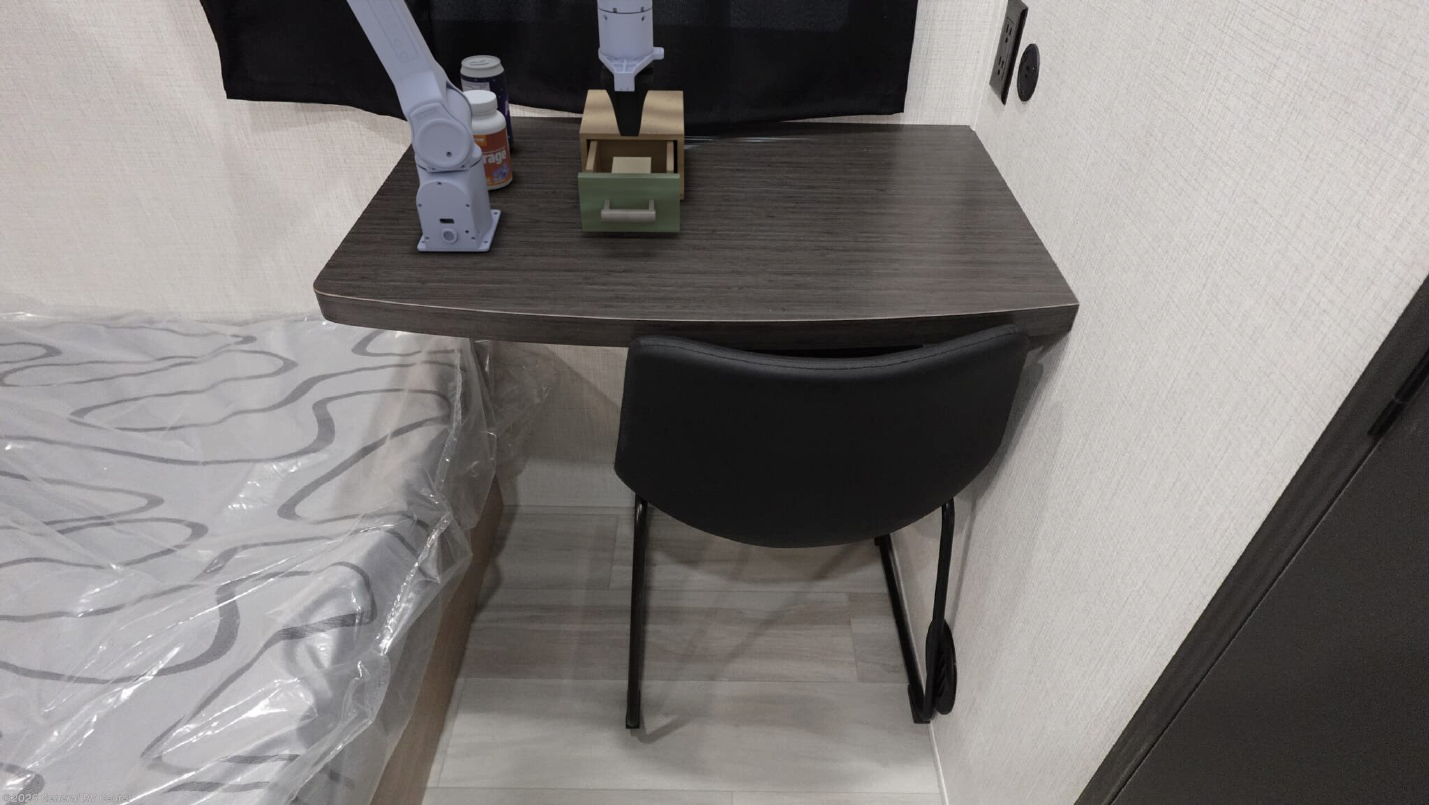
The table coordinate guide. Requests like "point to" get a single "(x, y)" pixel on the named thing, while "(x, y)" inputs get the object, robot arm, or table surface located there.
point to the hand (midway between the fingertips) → (629, 132)
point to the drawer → (630, 189)
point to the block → (631, 165)
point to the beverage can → (488, 83)
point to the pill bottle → (491, 138)
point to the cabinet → (657, 124)
